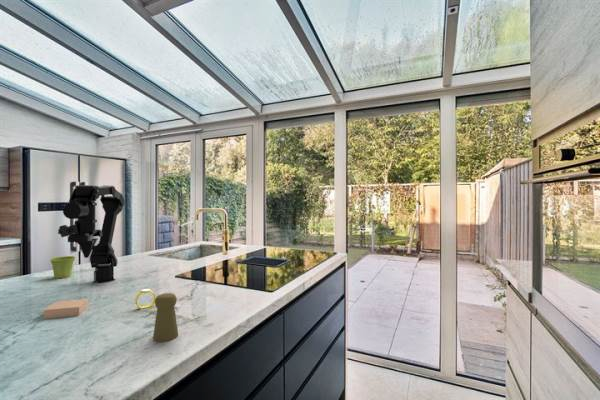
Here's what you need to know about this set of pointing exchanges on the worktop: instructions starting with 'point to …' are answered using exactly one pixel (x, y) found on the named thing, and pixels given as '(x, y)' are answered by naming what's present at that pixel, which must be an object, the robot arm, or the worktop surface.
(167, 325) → the cork
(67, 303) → the tile
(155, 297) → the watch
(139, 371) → the worktop surface
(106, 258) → the robot arm
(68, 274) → the plant pot
